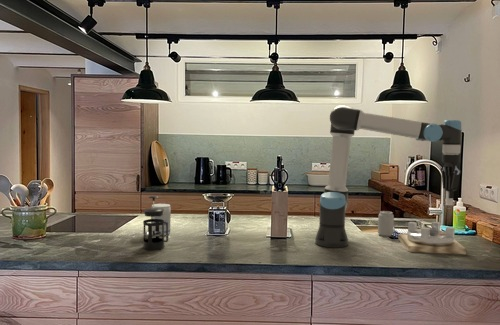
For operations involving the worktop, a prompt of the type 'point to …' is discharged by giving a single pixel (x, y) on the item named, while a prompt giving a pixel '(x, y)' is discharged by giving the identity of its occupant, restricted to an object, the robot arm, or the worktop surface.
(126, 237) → the worktop surface
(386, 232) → the can
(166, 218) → the supplement tub
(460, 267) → the worktop surface
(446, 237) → the ring nut
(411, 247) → the base plate
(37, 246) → the worktop surface
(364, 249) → the worktop surface
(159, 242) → the french press
